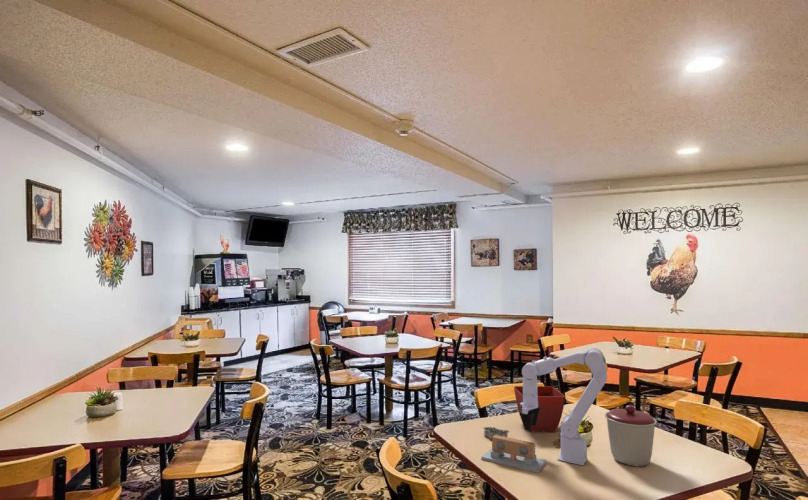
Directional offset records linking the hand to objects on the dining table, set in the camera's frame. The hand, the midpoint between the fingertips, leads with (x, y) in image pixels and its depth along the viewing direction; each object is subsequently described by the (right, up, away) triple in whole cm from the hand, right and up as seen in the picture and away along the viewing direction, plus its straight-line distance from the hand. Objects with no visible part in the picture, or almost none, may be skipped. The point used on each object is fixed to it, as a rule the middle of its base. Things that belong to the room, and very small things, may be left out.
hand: (530, 427), depth 188 cm
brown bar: (-9, -7, -9) cm, 14 cm away
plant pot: (+12, -12, +30) cm, 34 cm away
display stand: (-9, -10, -9) cm, 16 cm away
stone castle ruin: (-11, -11, +17) cm, 23 cm away
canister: (+37, -10, -8) cm, 39 cm away
